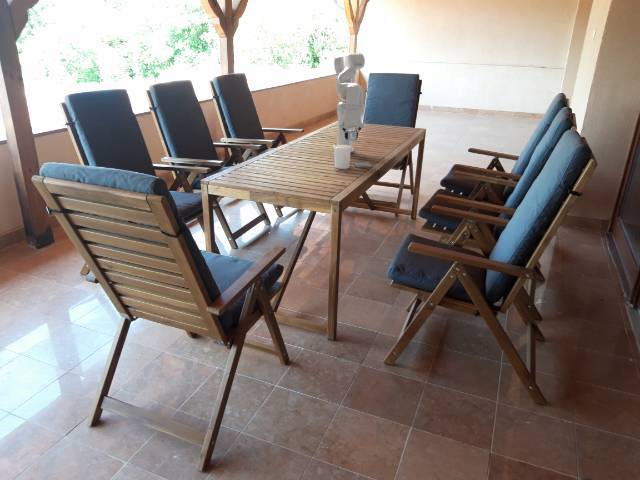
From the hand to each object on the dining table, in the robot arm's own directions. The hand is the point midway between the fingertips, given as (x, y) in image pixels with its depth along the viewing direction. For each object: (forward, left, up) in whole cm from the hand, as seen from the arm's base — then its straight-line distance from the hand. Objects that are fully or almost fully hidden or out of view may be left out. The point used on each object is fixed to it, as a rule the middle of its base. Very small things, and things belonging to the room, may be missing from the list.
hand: (351, 138), depth 282 cm
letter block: (0, 0, -1) cm, 1 cm away
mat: (+9, +5, -14) cm, 18 cm away
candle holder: (+11, -8, -14) cm, 20 cm away
